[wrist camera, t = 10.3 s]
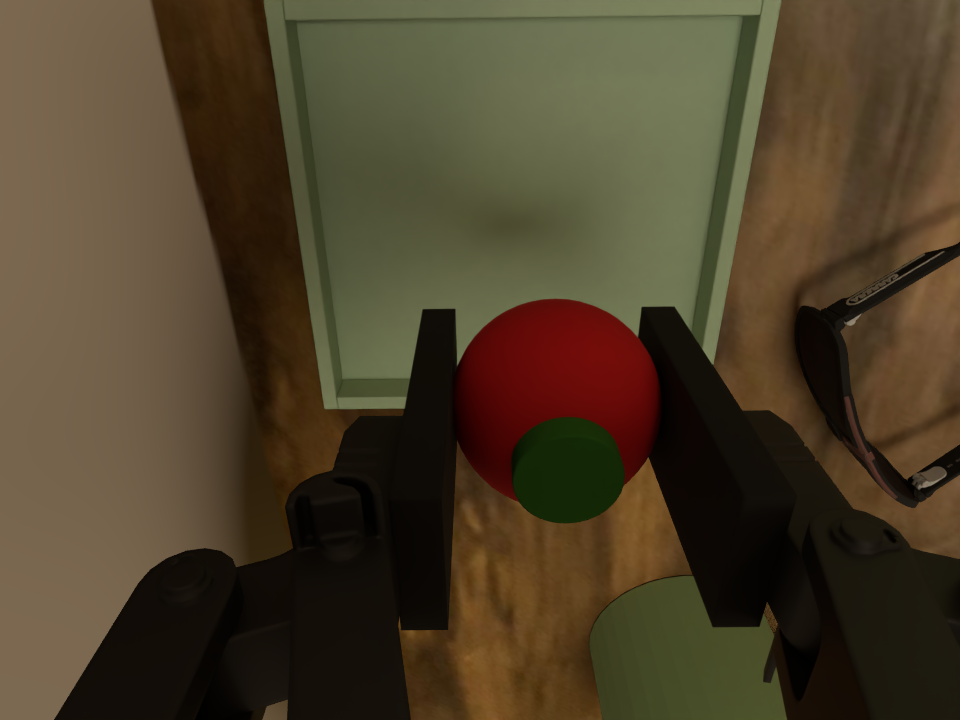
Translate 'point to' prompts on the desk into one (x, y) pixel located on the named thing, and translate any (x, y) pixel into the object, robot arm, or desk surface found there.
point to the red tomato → (557, 407)
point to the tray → (511, 164)
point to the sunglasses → (831, 378)
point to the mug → (679, 659)
